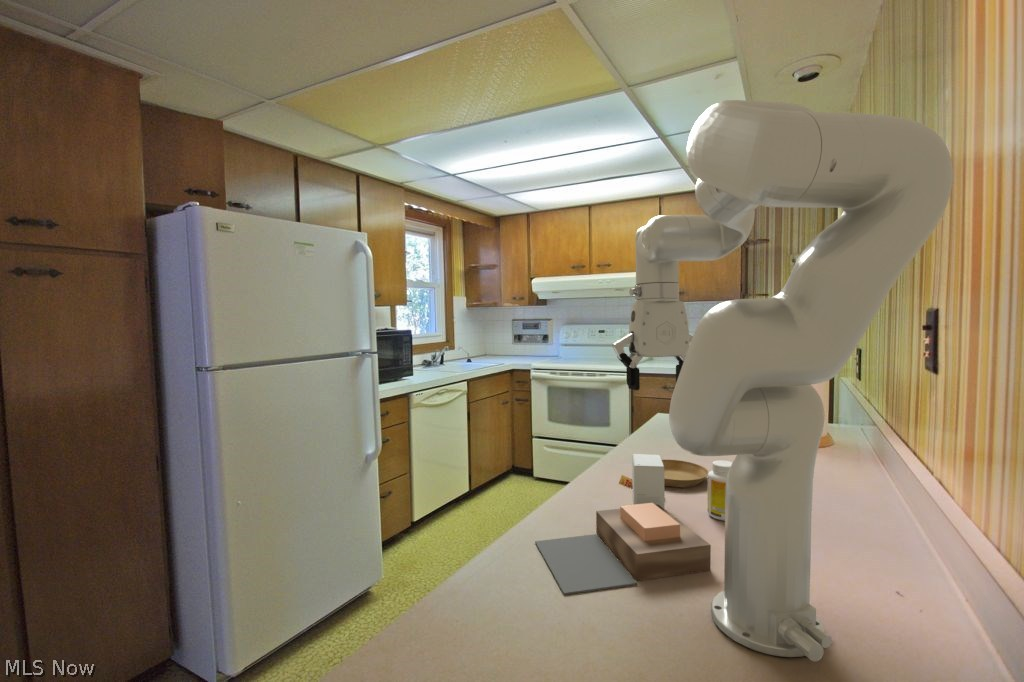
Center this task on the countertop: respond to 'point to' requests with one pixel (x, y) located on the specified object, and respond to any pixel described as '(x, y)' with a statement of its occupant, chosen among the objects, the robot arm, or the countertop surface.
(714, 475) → the supplement bottle
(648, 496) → the small box
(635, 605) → the countertop surface
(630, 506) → the peach rectangular slab
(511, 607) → the countertop surface
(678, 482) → the plant saucer
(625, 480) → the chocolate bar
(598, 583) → the mat
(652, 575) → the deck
